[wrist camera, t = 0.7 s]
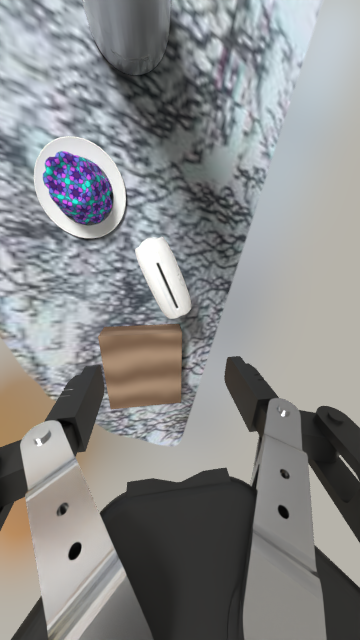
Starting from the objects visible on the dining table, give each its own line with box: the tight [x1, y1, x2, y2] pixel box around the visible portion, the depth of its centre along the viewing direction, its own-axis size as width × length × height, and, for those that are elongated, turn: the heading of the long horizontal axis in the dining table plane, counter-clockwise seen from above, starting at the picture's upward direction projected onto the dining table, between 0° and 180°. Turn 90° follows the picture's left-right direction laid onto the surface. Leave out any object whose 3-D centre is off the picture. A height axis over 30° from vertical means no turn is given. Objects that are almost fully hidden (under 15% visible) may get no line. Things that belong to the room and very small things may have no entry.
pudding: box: [34, 136, 126, 238], centre depth 24 cm, size 12×12×5 cm
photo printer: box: [135, 237, 191, 319], centre depth 26 cm, size 10×4×12 cm, turn 22°
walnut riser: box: [98, 324, 182, 409], centre depth 36 cm, size 16×14×4 cm
